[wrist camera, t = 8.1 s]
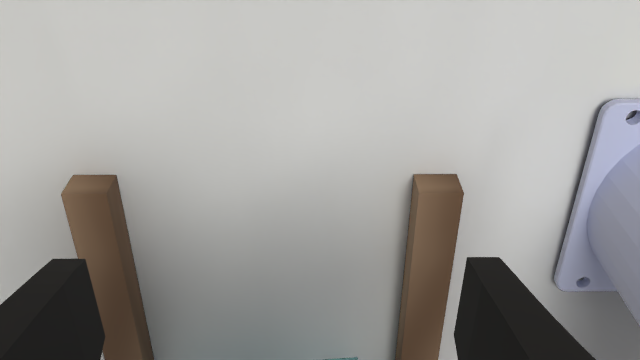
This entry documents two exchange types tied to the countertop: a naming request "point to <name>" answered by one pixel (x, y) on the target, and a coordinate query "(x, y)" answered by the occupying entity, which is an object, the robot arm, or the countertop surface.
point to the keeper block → (344, 359)
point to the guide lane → (124, 294)
